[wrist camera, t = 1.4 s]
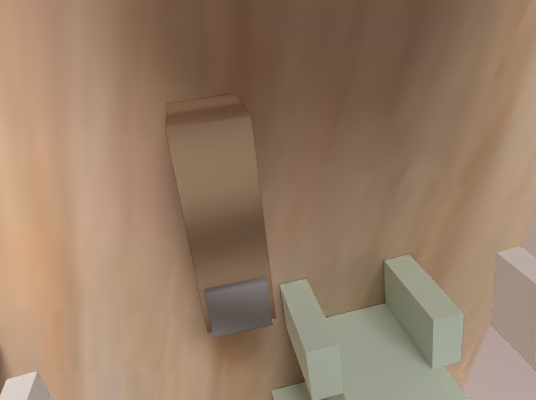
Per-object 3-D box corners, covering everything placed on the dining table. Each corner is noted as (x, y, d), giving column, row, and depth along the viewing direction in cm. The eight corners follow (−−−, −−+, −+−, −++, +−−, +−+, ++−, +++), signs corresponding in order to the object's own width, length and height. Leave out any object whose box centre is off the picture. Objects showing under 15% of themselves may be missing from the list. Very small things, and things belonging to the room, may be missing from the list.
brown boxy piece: (166, 102, 26) (165, 132, 20) (234, 93, 26) (252, 119, 21) (201, 275, 31) (208, 338, 25) (258, 264, 31) (277, 323, 26)
